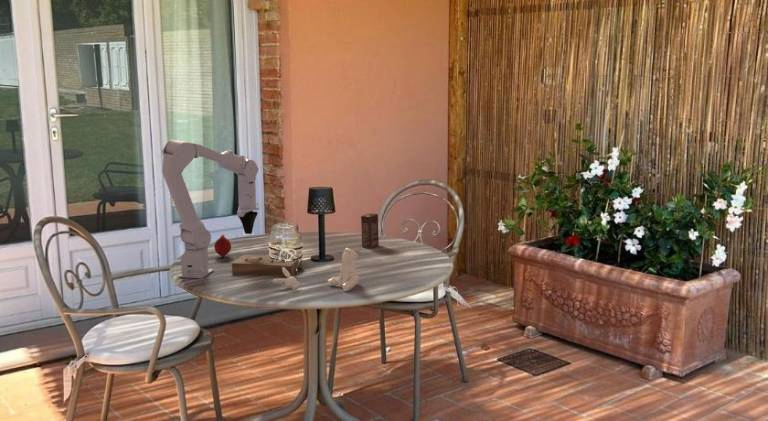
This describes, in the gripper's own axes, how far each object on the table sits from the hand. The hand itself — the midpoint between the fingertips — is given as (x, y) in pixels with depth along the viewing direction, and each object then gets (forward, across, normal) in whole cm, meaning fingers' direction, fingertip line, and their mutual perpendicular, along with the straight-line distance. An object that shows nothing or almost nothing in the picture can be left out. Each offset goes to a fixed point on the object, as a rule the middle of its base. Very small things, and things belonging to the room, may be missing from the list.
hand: (248, 233), depth 266 cm
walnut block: (+10, -8, -9) cm, 16 cm away
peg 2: (+10, -8, -14) cm, 19 cm away
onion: (+11, +6, +12) cm, 17 cm away
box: (+11, +31, -36) cm, 49 cm away
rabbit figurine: (+11, -25, -21) cm, 34 cm away
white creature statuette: (+11, -20, -39) cm, 45 cm away
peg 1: (+10, -8, -4) cm, 13 cm away
